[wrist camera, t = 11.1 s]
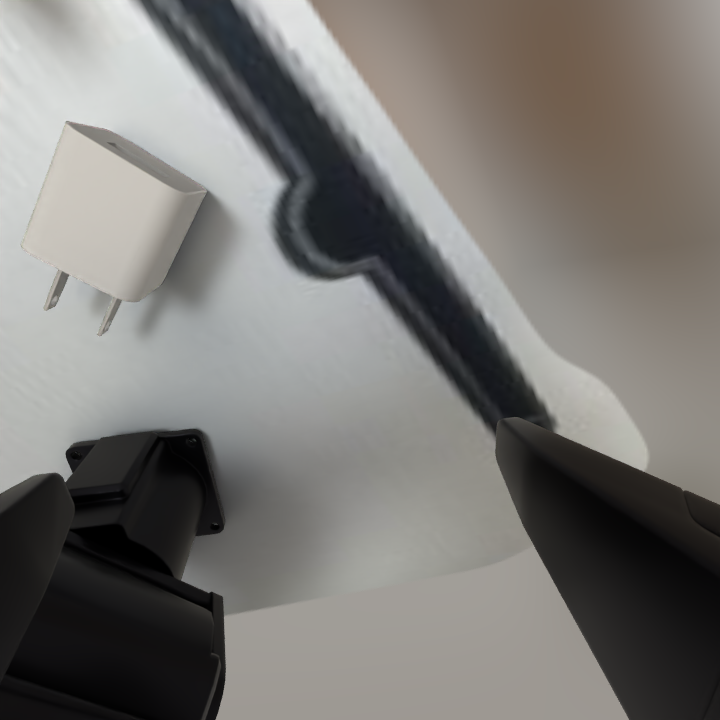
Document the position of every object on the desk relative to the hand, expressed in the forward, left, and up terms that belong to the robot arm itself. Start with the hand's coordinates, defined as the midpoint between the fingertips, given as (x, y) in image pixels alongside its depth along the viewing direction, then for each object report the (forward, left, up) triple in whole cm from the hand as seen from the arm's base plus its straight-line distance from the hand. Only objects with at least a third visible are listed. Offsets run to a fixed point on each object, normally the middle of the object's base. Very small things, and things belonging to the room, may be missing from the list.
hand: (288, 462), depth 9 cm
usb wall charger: (+3, +7, -12) cm, 14 cm away
